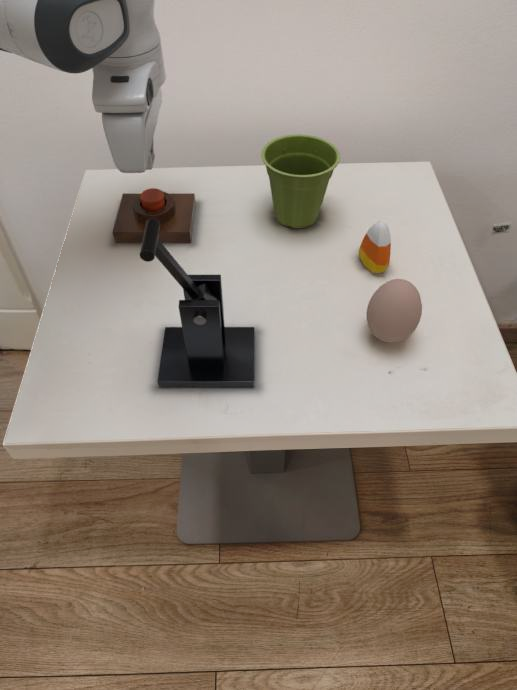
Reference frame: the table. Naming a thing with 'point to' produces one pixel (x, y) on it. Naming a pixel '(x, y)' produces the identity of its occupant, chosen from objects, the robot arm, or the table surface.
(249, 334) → the bracket
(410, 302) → the egg
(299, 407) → the table surface
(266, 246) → the table surface
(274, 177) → the plant pot
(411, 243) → the table surface
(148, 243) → the lever
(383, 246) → the candy corn
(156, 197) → the button
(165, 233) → the button block
